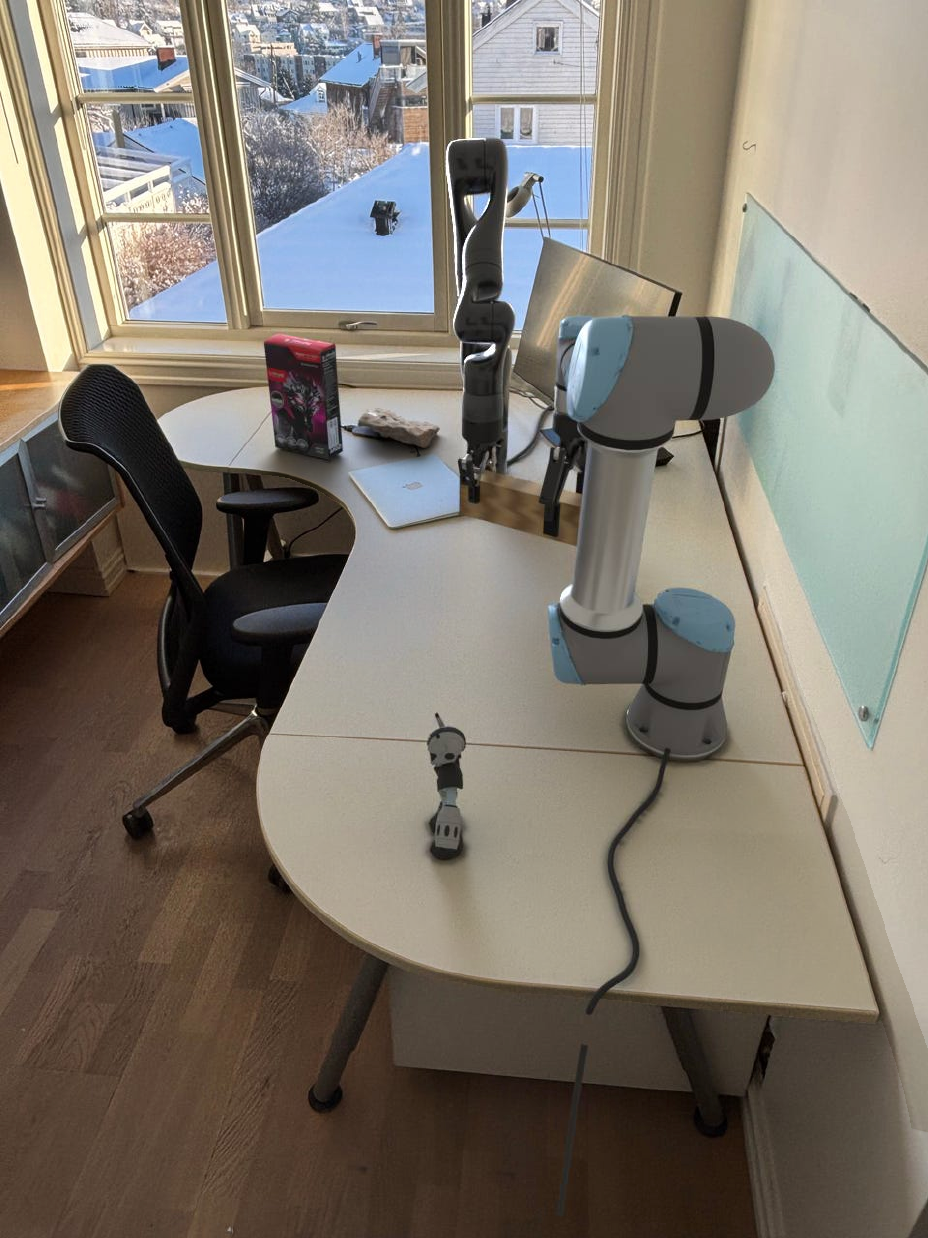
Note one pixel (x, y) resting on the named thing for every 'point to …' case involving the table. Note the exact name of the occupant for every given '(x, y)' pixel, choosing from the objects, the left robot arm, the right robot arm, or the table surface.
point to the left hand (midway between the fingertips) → (480, 496)
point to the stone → (398, 427)
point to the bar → (520, 506)
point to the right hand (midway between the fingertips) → (566, 519)
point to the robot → (447, 789)
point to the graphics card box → (304, 395)
